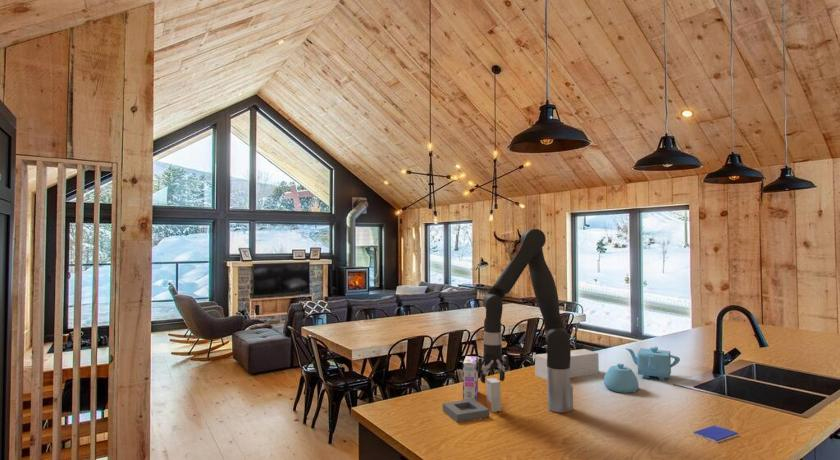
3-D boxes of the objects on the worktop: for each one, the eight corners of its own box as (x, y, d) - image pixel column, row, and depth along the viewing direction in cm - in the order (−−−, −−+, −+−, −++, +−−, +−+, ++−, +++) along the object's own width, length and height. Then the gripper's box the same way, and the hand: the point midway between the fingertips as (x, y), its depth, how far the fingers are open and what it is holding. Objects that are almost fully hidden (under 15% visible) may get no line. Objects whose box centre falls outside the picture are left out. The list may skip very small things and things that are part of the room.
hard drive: (713, 424, 168) (692, 431, 162) (737, 432, 161) (716, 439, 155) (714, 428, 168) (693, 435, 162) (738, 437, 161) (716, 444, 155)
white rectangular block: (547, 381, 229) (547, 359, 229) (535, 375, 239) (534, 354, 239) (598, 373, 240) (598, 353, 240) (584, 368, 250) (584, 348, 250)
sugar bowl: (631, 384, 221) (631, 360, 221) (644, 394, 206) (643, 368, 206) (599, 383, 222) (599, 359, 223) (609, 393, 207) (608, 367, 208)
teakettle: (684, 380, 225) (683, 350, 226) (651, 383, 221) (650, 352, 222) (656, 370, 244) (655, 342, 244) (625, 373, 239) (624, 344, 240)
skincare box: (486, 407, 192) (485, 378, 192) (496, 406, 193) (495, 377, 193) (491, 412, 186) (491, 382, 187) (501, 411, 187) (500, 381, 187)
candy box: (476, 401, 200) (475, 363, 200) (462, 400, 201) (462, 362, 201) (478, 391, 213) (477, 355, 214) (466, 391, 214) (465, 355, 215)
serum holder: (473, 405, 194) (473, 398, 194) (489, 417, 181) (489, 409, 181) (442, 410, 189) (442, 403, 189) (457, 422, 176) (456, 414, 176)
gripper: (481, 345, 185) (481, 386, 184) (512, 343, 190) (512, 382, 189) (473, 341, 192) (473, 380, 191) (502, 339, 197) (503, 377, 196)
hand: (492, 381), depth 190 cm, fingers open, 8 cm apart
